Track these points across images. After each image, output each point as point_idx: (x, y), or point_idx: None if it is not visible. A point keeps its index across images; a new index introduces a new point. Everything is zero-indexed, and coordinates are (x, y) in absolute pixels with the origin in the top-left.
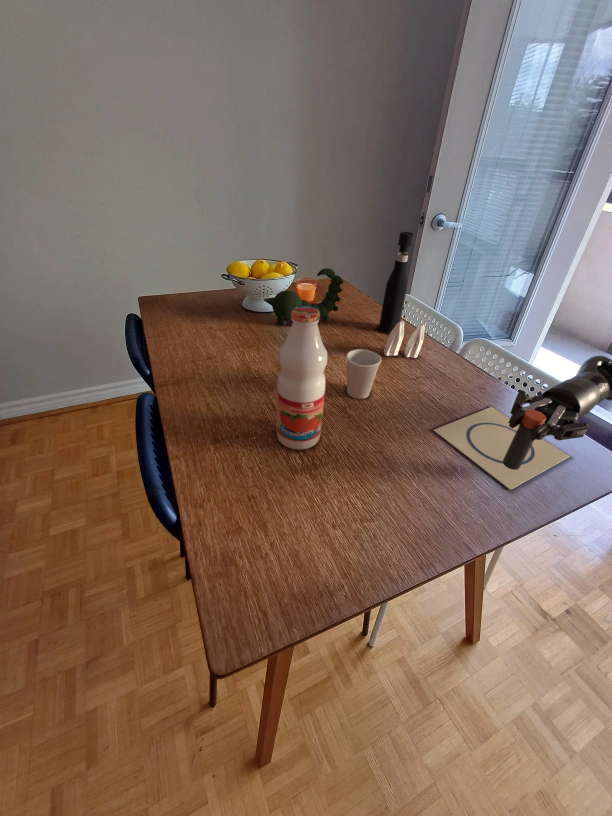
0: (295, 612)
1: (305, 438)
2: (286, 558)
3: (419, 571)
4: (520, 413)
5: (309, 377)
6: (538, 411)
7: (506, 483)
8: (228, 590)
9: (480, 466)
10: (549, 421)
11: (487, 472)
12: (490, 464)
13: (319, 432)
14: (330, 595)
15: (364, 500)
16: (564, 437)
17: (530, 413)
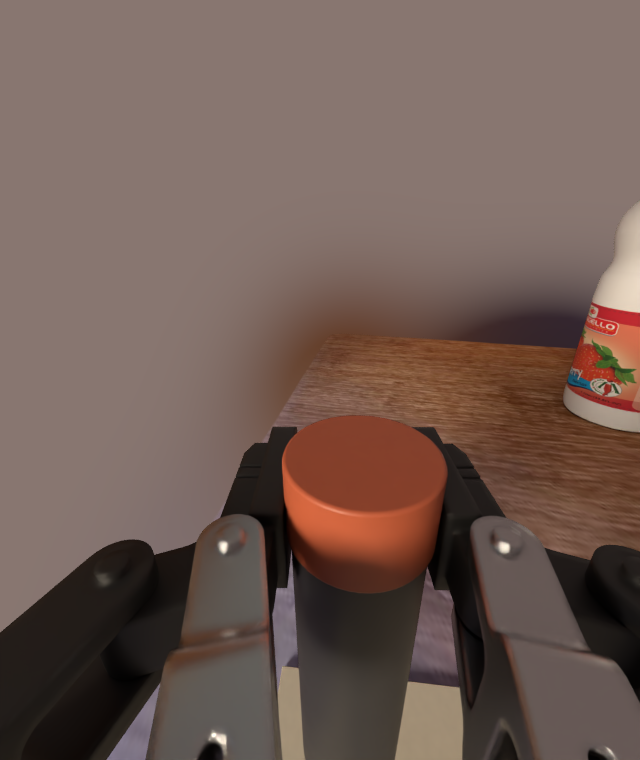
0: (336, 351)
1: (570, 381)
2: (383, 358)
3: (295, 401)
4: (456, 475)
5: (617, 250)
6: (389, 507)
7: None
8: (376, 341)
9: (434, 686)
10: (256, 549)
11: None
12: (429, 752)
13: (596, 399)
14: (332, 362)
15: (424, 411)
16: (80, 677)
17: (396, 446)
